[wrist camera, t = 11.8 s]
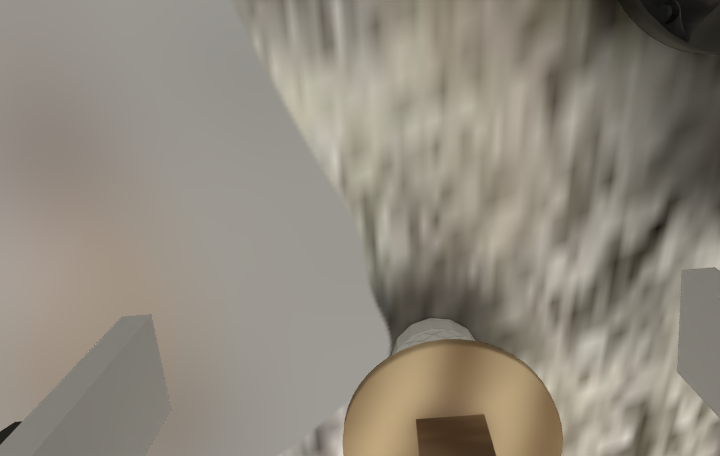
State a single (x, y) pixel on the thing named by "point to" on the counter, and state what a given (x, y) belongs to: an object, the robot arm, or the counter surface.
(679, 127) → the counter surface
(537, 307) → the counter surface
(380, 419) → the lid
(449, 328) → the white cup
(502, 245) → the counter surface
